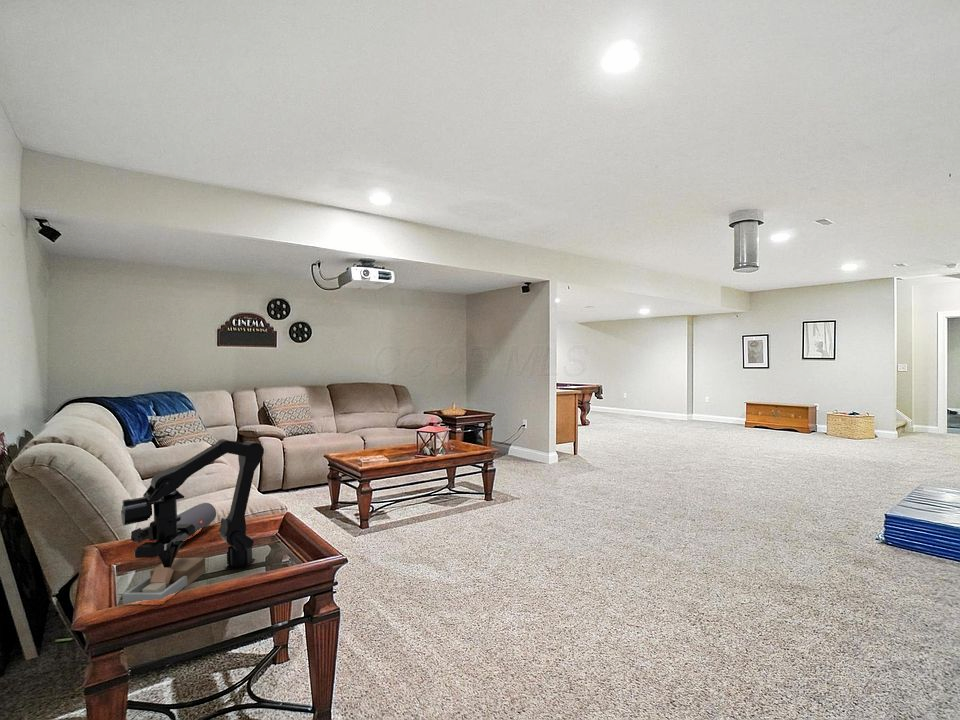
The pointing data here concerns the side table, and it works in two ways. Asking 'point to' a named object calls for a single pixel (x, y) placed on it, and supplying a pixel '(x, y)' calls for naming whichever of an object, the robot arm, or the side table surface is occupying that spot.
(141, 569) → the side table surface
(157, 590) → the tile front
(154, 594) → the tray
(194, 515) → the bluetooth speaker
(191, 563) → the stepped beige slab
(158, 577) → the tile rear
